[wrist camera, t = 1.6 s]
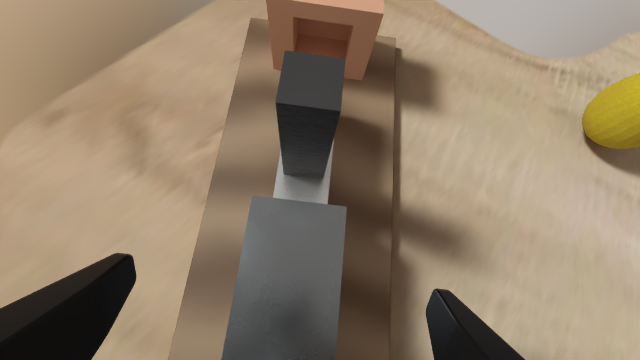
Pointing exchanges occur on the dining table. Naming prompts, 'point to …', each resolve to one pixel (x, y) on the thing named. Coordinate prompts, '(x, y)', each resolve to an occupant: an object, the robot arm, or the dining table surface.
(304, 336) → the sleeve
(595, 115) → the lemon
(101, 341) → the robot arm
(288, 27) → the socket block
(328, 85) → the tube
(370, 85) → the base board
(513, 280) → the dining table surface
